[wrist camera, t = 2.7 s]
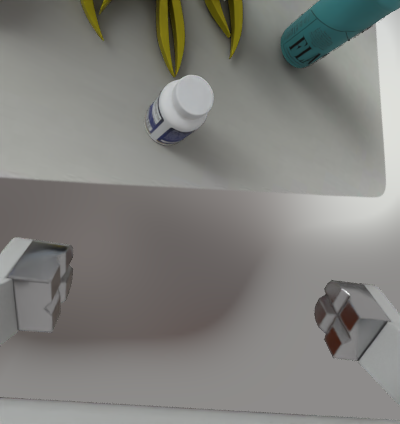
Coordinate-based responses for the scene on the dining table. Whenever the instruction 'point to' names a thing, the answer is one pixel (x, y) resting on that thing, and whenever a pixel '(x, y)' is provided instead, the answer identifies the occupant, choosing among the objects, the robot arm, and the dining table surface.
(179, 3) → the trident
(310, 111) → the dining table surface
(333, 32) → the beverage bottle
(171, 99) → the pill bottle
